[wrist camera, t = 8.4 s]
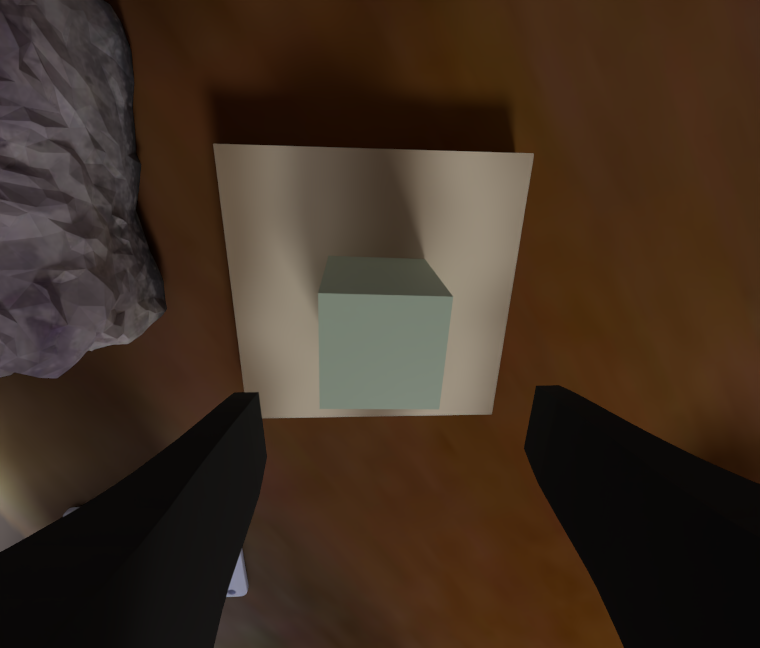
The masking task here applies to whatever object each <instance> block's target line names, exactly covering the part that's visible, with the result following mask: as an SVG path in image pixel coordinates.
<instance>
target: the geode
mask: <svg viewBox="0 0 760 648" xmlns="http://www.w3.org/2000/svg"><path fill="white" fill-rule="evenodd" d="M133 93H134V76H133V66H132V55H131V49H130V46H129V44H128V41H127V38H126V35H125V32H124V30H123V27H122V24H121V21H120V20H119V18H118V16H117V15H116V13H115V12H114V10H113V8H112V7H111V5H110V4H108V3H107V2H105V1H104V0H0V377H4V376H9V375H12V374H13V373H14V372H16V373H20V374H25V375H29V376H34V377H38V378H58V377H60V376H61V375H62V374H64V373H65V372H66V371H68V370H69V369H70V368H71V367H72V366H74V365H75V364H76V363H77V362H78V361H79V360H80V359H81V358H82V356H83V355H84V354H85V353H86V352H87V351H93V350H94V349H97V348H101V347H105V346H109V345H113V344H129V343H130V342H132V341H133V340H135V339H136V338H137V337H139V336H140V335H142V334H143V333H144V332H145V330H146V329H147V328H148V327H149V326H150V325H151V324H152V323H154V322H155V321H156V320H157V319H159V318H160V317H161V316H162V315H163V314H164V312H165V311H166V310H167V307H166V301H165V293H164V282H163V279H162V276H161V274H160V271H159V269H158V266H157V264H156V262H155V260H154V258H153V256H152V255H151V253H150V250H149V247H148V244H147V241H146V238H145V235H144V232H143V229H142V226H141V223H140V220H139V217H138V214H137V212H136V205H137V198H138V192H139V183H140V172H141V163H140V161H139V159H138V157H137V155H136V146H135V126H134V117H133V108H132V106H133Z"/></svg>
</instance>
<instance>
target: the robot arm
mask: <svg viewBox="0 0 760 648" xmlns="http://www.w3.org/2000/svg"><path fill="white" fill-rule="evenodd" d="M524 449H525V452H526V455H527V457H528V460H529V462H530V465H531V468H532V470H533V472H534V475H535V477H536V479H537V482H538V484H539V486H540V488H541V489H542V491H543V493H544V495H545V497H546V498H547V500H548V502H549V504H550V505H551V507H552V509H553V511H554V513H555V514H556V516H557V518H558V520H559V521H560V523H561V525H562V526H563V528H564V530H565V532H566V533H567V535H568V537H569V539H570V540H571V542H572V544H573V546H574V547H575V549H576V551H577V553H578V554H579V556H580V558H581V560H582V561H583V563H584V565H585V566H586V568H587V570H588V572H589V574H590V576H591V578H592V580H593V582H594V583H595V585H596V587H597V589H598V591H599V593H600V596H601V598H602V600H603V602H604V604H605V607H606V609H607V611H608V613H609V615H610V617H611V620H612V622H613V624H614V626H615V628H616V630H617V633H618V635H619V637H620V639H621V642H622V644H623V646H624V648H760V484H758V483H755V482H753V481H751V480H748V479H746V478H744V477H741V476H739V475H737V474H734V473H732V472H730V471H727V470H725V469H723V468H720V467H718V466H716V465H713V464H711V463H709V462H707V461H705V460H703V459H700V458H698V457H696V456H694V455H692V454H690V453H688V452H686V451H684V450H682V449H680V448H678V447H676V446H674V445H672V444H670V443H668V442H666V441H664V440H662V439H660V438H658V437H656V436H654V435H652V434H650V433H648V432H646V431H644V430H643V429H641V428H639V427H637V426H635V425H633V424H631V423H630V422H628V421H626V420H624V419H622V418H620V417H619V416H617V415H615V414H613V413H611V412H609V411H608V410H606V409H604V408H602V407H600V406H599V405H597V404H595V403H593V402H591V401H589V400H588V399H586V398H584V397H582V396H580V395H578V394H576V393H574V392H572V391H570V390H568V389H566V388H564V387H561V386H559V385H553V386H536V390H535V395H534V400H533V405H532V410H531V415H530V420H529V425H528V430H527V435H526V441H525V446H524ZM266 458H267V454H266V446H265V438H264V430H263V422H262V414H261V406H260V398H259V392H240V393H233V394H232V395H230V396H229V397H228V398H227V399H225V400H224V401H223V402H222V403H221V404H219V405H218V406H217V407H216V408H215V409H213V410H212V411H211V412H210V413H209V414H207V415H206V416H205V417H204V418H203V419H202V420H200V421H199V422H198V423H197V424H195V425H194V426H193V427H192V428H191V429H189V430H188V431H187V432H186V433H184V434H183V435H182V436H181V437H180V438H178V439H177V440H176V441H175V442H173V443H172V444H171V445H169V446H168V447H167V448H165V449H164V450H163V451H161V452H160V453H159V454H157V455H156V456H155V457H153V458H152V459H150V460H149V461H148V462H146V463H145V464H144V465H142V466H141V467H140V468H138V469H137V470H136V471H134V472H133V473H131V474H130V475H129V476H127V477H126V478H124V479H123V480H121V481H120V482H118V483H117V484H115V485H114V486H112V487H111V488H109V489H108V490H106V491H105V492H103V493H101V494H100V495H98V496H97V497H95V498H94V499H92V500H90V501H89V502H87V503H86V504H84V505H83V506H81V507H72V508H69V509H68V510H67V511H66V512H65V513H64V515H63V517H62V518H60V519H59V520H57V521H55V522H53V523H52V524H50V525H48V526H46V527H44V528H43V529H41V530H39V531H37V532H36V533H34V534H32V535H30V536H29V537H27V538H25V539H23V540H22V541H20V542H18V543H16V544H14V545H13V546H11V547H9V548H7V549H5V550H4V551H1V552H0V648H213V647H214V643H215V639H216V635H217V630H218V626H219V622H220V618H221V613H222V609H223V606H224V602H225V599H226V597H236V596H243V595H245V594H246V593H247V591H248V580H247V574H246V568H245V562H244V556H243V550H242V546H243V543H244V540H245V537H246V534H247V531H248V528H249V525H250V522H251V519H252V516H253V513H254V510H255V507H256V504H257V500H258V497H259V494H260V489H261V484H262V480H263V474H264V469H265V464H266Z"/></svg>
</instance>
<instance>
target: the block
mask: <svg viewBox="0 0 760 648" xmlns="http://www.w3.org/2000/svg"><path fill="white" fill-rule="evenodd" d="M452 303H453V296H452V294H451V293H450V292H449V290H448V289H447V288H446V286H445V285H444V284H443V282H442V281H441V280H440V278H439V277H438V276H437V274H436V273H435V272H434V270H433V269H432V268H431V266H430V265H429V264H428V262H427V261H426V260H425V259H410V258H380V257H350V256H328V259H327V263H326V267H325V270H324V274H323V277H322V281H321V284H320V288H319V292H318V324H319V396H320V409H439V407H440V399H441V391H442V383H443V375H444V367H445V359H446V351H447V343H448V335H449V327H450V319H451V311H452Z"/></svg>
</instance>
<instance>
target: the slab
mask: <svg viewBox="0 0 760 648" xmlns="http://www.w3.org/2000/svg"><path fill="white" fill-rule="evenodd" d="M213 147H214V155H215V163H216V171H217V179H218V186H219V194H220V202H221V210H222V218H223V226H224V234H225V242H226V250H227V258H228V266H229V274H230V282H231V290H232V297H233V305H234V313H235V321H236V329H237V337H238V345H239V353H240V361H241V369H242V377H243V385H244V392H259V398H260V406H261V414H262V418H304V417H362V416H421V415H479V414H492V409H493V403H494V397H495V391H496V384H497V378H498V372H499V366H500V360H501V354H502V348H503V341H504V335H505V329H506V323H507V317H508V311H509V305H510V298H511V292H512V286H513V280H514V274H515V268H516V262H517V255H518V249H519V243H520V237H521V231H522V225H523V219H524V212H525V206H526V200H527V194H528V188H529V182H530V176H531V169H532V163H533V157H534V153H502V152H469V151H436V150H403V149H371V148H338V147H305V146H272V145H240V144H213ZM328 256H350V257H380V258H410V259H425V260H426V261H427V262H428V264H429V265H430V266H431V268H432V269H433V270H434V272H435V273H436V274H437V276H438V277H439V278H440V280H441V281H442V282H443V284H444V285H445V286H446V288H447V289H448V290H449V292H450V293H451V294H452V296H453V303H452V311H451V319H450V327H449V335H448V343H447V351H446V359H445V367H444V375H443V383H442V391H441V399H440V407H439V409H320V396H319V324H318V292H319V288H320V284H321V281H322V277H323V274H324V270H325V267H326V263H327V259H328Z"/></svg>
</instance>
